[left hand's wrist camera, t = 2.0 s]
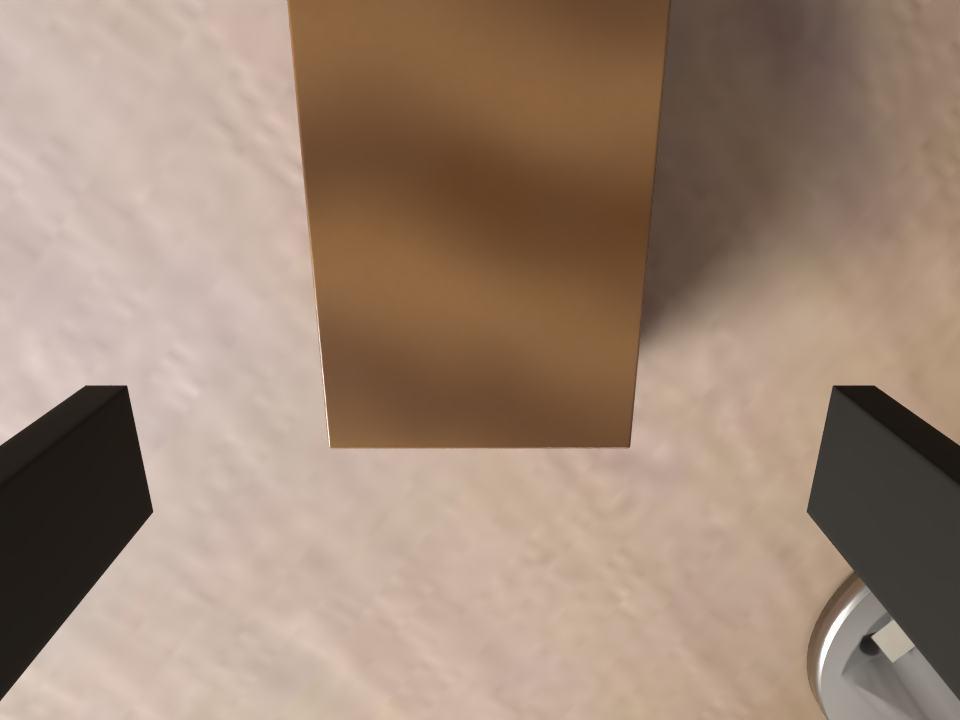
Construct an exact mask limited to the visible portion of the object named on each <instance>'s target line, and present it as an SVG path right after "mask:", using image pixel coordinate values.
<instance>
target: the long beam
mask: <svg viewBox="0 0 960 720" xmlns="http://www.w3.org/2000/svg"><path fill="white" fill-rule="evenodd" d="M287 3H288V14H289V25H290V36H291V46H292V57H293V68H294V79H295V90H296V100H297V111H298V122H299V133H300V143H301V154H302V165H303V176H304V187H305V197H306V208H307V219H308V230H309V241H310V251H311V262H312V273H313V284H314V295H315V305H316V316H317V327H318V338H319V349H320V359H321V370H322V381H323V392H324V402H325V413H326V424H327V435H328V446H329V448H629V447H630V443H631V432H632V421H633V410H634V399H635V388H636V377H637V366H638V356H639V345H640V334H641V323H642V312H643V301H644V290H645V279H646V268H647V258H648V247H649V236H650V225H651V214H652V203H653V192H654V181H655V170H656V160H657V149H658V138H659V127H660V116H661V105H662V94H663V83H664V72H665V62H666V51H667V40H668V29H669V18H670V7H671V0H287Z"/></svg>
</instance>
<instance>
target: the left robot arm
mask: <svg viewBox="0 0 960 720" xmlns="http://www.w3.org/2000/svg"><path fill="white" fill-rule="evenodd" d="M152 513H153V508H152V503H151V499H150V494H149V489H148V484H147V479H146V475H145V470H144V465H143V460H142V455H141V451H140V446H139V441H138V436H137V431H136V427H135V422H134V417H133V412H132V407H131V403H130V398H129V393H128V388H127V386H84V387H83V388H82V389H80V390H79V391H77V392H76V393H75V394H73V395H72V396H70V397H69V398H67V399H66V400H65V401H63V402H62V403H60V404H59V405H58V406H56V407H55V408H53V409H52V410H50V411H49V412H48V413H46V414H45V415H43V416H42V417H40V418H39V419H38V420H36V421H35V422H33V423H32V424H31V425H29V426H28V427H26V428H25V429H23V430H22V431H21V432H19V433H18V434H16V435H15V436H13V437H12V438H11V439H9V440H8V441H6V442H5V443H4V444H2V445H1V446H0V701H1V699H2V698H3V697H4V696H5V695H6V693H7V692H8V691H9V690H10V688H11V687H12V686H13V685H14V683H15V682H16V681H17V680H18V678H19V677H20V676H21V675H22V674H23V672H24V671H25V670H26V669H27V667H28V666H29V665H30V664H31V662H32V661H33V660H34V659H35V657H36V656H37V655H38V654H39V653H40V651H41V650H42V649H43V648H44V646H45V645H46V644H47V643H48V641H49V640H50V639H51V638H52V636H53V635H54V634H55V633H56V631H57V630H58V629H59V628H60V627H61V625H62V624H63V623H64V622H65V620H66V619H67V618H68V617H69V615H70V614H71V613H72V612H73V610H74V609H75V608H76V607H77V606H78V604H79V603H80V602H81V601H82V599H83V598H84V597H85V596H86V594H87V593H88V592H89V591H90V589H91V588H92V587H93V586H94V585H95V583H96V582H97V581H98V580H99V578H100V577H101V576H102V575H103V573H104V572H105V571H106V570H107V568H108V567H109V566H110V565H111V564H112V562H113V561H114V560H115V559H116V557H117V556H118V555H119V554H120V552H121V551H122V550H123V549H124V547H125V546H126V545H127V544H128V542H129V541H130V540H131V539H132V538H133V536H134V535H135V534H136V533H137V531H138V530H139V529H140V528H141V526H142V525H143V524H144V523H145V521H146V520H147V519H148V518H149V517H150V515H151V514H152ZM807 513H808V514H809V515H810V517H811V518H812V519H813V520H814V521H815V523H816V524H817V525H818V526H819V528H820V529H821V530H822V531H823V533H824V534H825V535H826V536H827V538H828V539H829V540H830V541H831V542H832V544H833V545H834V546H835V547H836V549H837V550H838V551H839V552H840V554H841V555H842V556H843V557H844V559H845V560H846V561H847V562H848V564H849V565H850V566H851V567H852V568H853V570H854V571H855V573H853V574H852V575H851V576H850V577H849V578H848V579H847V580H846V581H845V582H844V583H843V584H842V585H841V586H840V588H839V589H838V590H837V591H836V592H835V594H834V595H833V596H832V597H831V599H830V600H829V601H828V603H827V605H826V606H825V608H824V609H823V611H822V612H821V614H820V616H819V618H818V620H817V622H816V624H815V627H814V630H813V632H812V635H811V639H810V643H809V647H808V654H807V672H808V679H809V683H810V687H811V690H812V692H813V695H814V697H815V699H816V701H817V703H818V704H819V706H820V708H821V710H822V711H823V713H824V715H825V717H826V718H827V720H960V446H959V445H958V444H956V443H955V442H954V441H952V440H951V439H949V438H948V437H947V436H945V435H944V434H942V433H941V432H939V431H938V430H937V429H935V428H934V427H932V426H931V425H929V424H928V423H927V422H925V421H924V420H922V419H921V418H920V417H918V416H917V415H915V414H914V413H912V412H911V411H910V410H908V409H907V408H905V407H904V406H902V405H901V404H900V403H898V402H897V401H895V400H894V399H893V398H891V397H890V396H888V395H887V394H885V393H884V392H883V391H881V390H880V389H878V388H877V387H876V386H833V388H832V393H831V398H830V403H829V407H828V412H827V417H826V422H825V427H824V431H823V436H822V441H821V446H820V451H819V455H818V460H817V465H816V470H815V475H814V479H813V484H812V489H811V494H810V499H809V503H808V508H807Z"/></svg>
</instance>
